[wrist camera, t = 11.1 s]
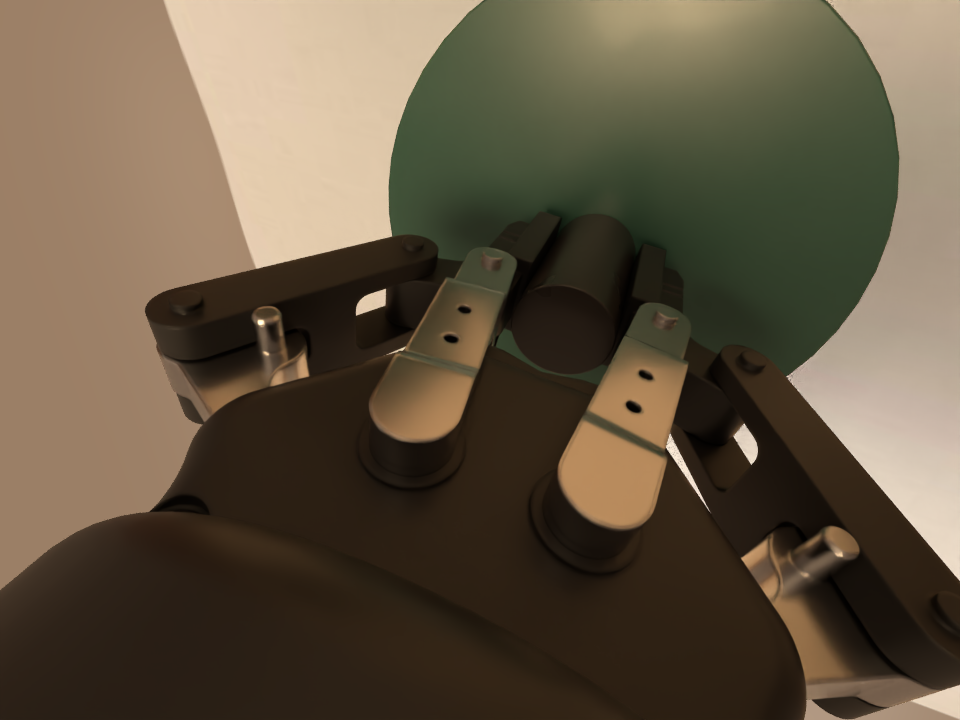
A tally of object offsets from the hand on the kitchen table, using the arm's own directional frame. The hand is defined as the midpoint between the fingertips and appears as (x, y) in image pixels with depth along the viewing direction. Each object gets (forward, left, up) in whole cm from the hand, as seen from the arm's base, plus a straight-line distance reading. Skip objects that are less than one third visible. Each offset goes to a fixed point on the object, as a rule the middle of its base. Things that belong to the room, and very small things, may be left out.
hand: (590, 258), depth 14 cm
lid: (0, 0, -1) cm, 1 cm away
